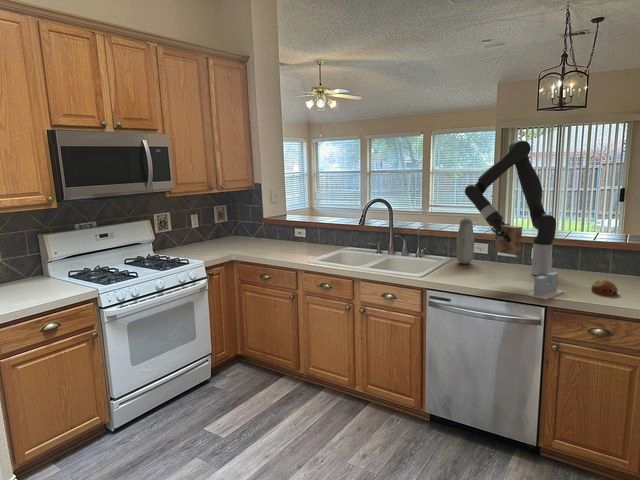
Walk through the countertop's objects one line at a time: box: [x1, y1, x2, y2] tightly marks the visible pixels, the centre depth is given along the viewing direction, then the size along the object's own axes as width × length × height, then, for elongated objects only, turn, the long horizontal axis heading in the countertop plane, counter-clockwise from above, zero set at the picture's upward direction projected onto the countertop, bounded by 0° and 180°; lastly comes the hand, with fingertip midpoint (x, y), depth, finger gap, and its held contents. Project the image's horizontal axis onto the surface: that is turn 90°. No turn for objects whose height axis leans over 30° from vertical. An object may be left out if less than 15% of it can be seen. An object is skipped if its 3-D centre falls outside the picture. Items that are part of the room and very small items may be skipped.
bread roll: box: [591, 279, 619, 297], centre depth 200 cm, size 10×10×8 cm
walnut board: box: [494, 225, 523, 256], centre depth 219 cm, size 12×4×14 cm, turn 36°
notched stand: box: [526, 271, 565, 301], centre depth 200 cm, size 17×9×9 cm, turn 126°
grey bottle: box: [455, 217, 475, 265], centre depth 260 cm, size 10×10×28 cm
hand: (511, 241), depth 217 cm, fingers closed on walnut board, 3 cm apart
